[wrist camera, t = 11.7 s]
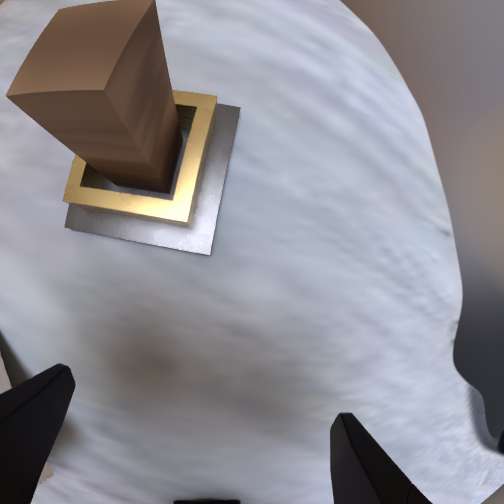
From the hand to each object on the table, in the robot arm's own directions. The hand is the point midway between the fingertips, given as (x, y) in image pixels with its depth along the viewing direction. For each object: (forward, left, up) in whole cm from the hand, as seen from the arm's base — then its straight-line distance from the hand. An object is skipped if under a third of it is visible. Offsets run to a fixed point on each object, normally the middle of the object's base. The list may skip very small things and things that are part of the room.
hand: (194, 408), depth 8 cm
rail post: (+11, +4, -11) cm, 16 cm away
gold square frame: (+11, +4, -12) cm, 17 cm away
